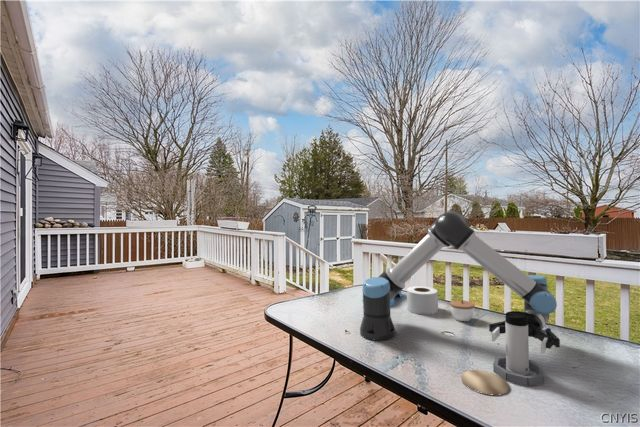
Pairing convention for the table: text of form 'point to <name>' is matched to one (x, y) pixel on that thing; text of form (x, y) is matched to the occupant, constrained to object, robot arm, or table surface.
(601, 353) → the table surface
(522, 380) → the collar
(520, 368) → the travel mug
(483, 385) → the coaster
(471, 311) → the lidded jar
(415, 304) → the toilet paper roll
